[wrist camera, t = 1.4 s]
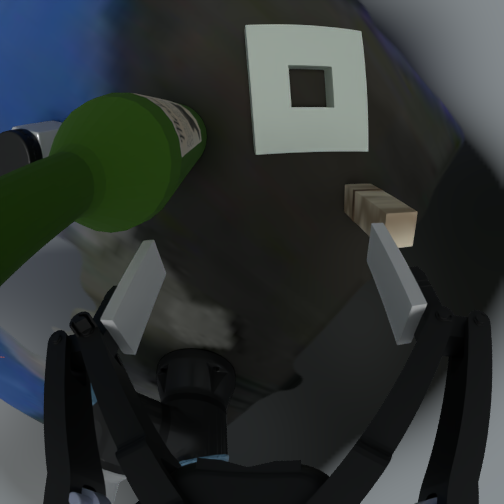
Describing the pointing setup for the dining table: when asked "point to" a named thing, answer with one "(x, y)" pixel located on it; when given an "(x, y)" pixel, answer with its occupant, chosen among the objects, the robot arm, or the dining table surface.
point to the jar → (26, 144)
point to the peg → (380, 212)
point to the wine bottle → (99, 172)
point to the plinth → (278, 89)
